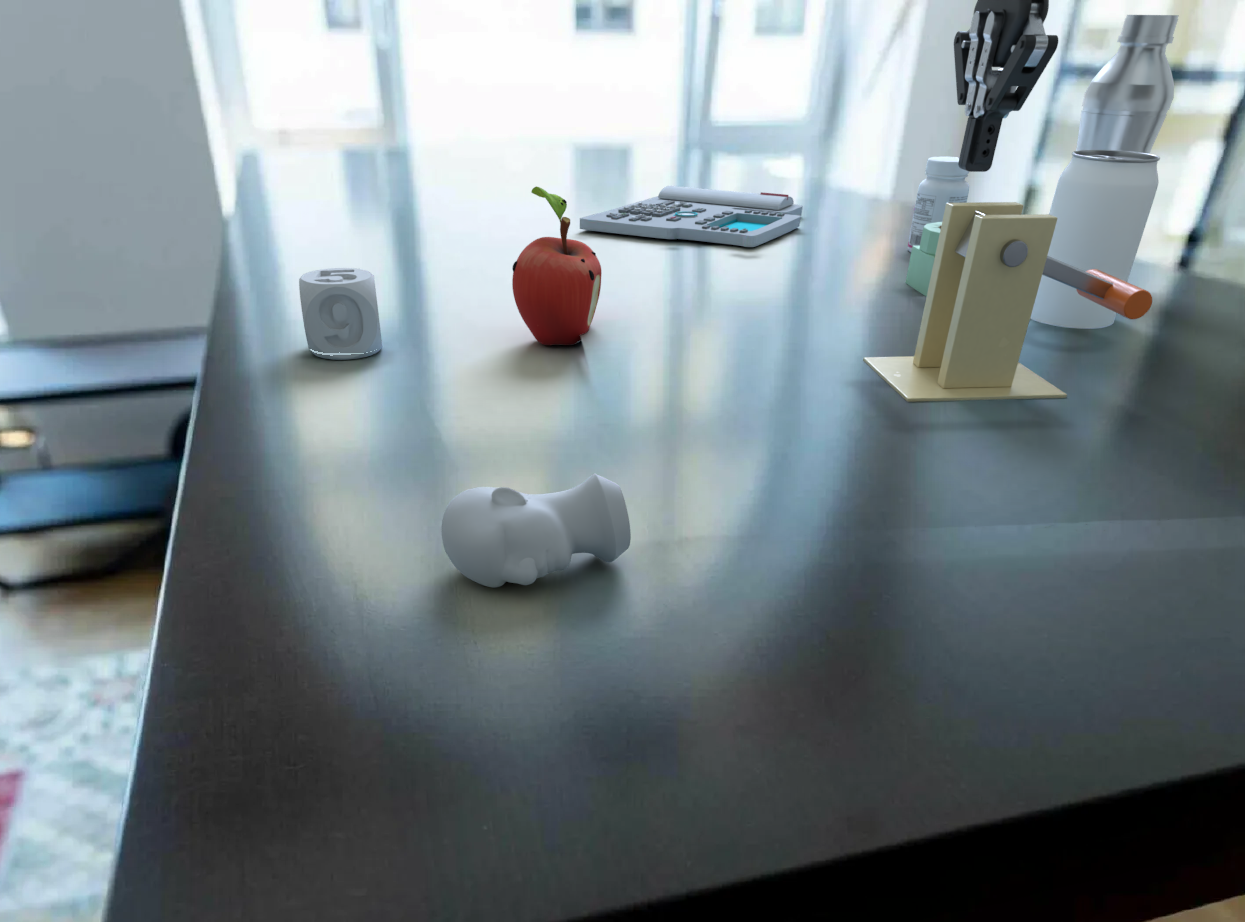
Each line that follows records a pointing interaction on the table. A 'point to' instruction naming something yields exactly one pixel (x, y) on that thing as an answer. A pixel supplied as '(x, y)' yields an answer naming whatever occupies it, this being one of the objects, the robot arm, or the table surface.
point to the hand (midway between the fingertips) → (973, 169)
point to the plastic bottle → (1130, 89)
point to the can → (1096, 229)
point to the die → (340, 312)
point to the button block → (923, 258)
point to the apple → (557, 283)
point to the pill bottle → (937, 194)
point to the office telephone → (702, 216)
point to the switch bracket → (977, 310)
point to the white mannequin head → (533, 530)
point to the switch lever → (1088, 283)
